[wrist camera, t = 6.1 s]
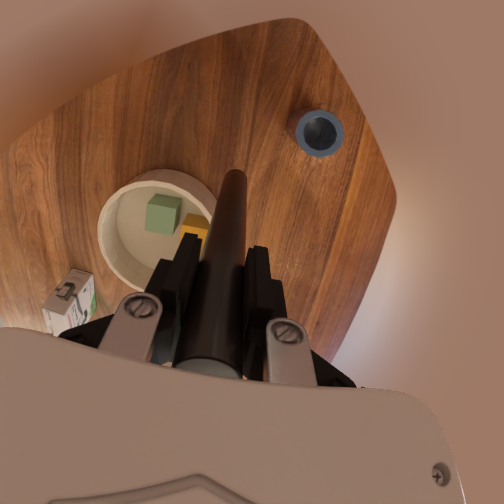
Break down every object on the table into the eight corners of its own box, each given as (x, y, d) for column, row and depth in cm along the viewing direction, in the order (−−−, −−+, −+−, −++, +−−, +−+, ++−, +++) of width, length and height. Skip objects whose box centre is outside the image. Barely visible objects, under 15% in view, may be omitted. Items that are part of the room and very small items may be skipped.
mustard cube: (187, 212, 41) (181, 224, 37) (214, 218, 41) (211, 230, 38) (183, 237, 42) (177, 250, 39) (210, 242, 43) (206, 256, 39)
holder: (292, 103, 34) (303, 103, 27) (330, 114, 34) (349, 119, 27) (282, 139, 36) (290, 149, 29) (319, 150, 37) (335, 163, 30)
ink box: (97, 308, 51) (73, 351, 40) (76, 302, 50) (50, 343, 40) (93, 273, 46) (63, 316, 36) (71, 267, 46) (39, 307, 36)
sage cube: (155, 193, 39) (146, 203, 36) (182, 198, 40) (176, 208, 36) (153, 218, 41) (144, 230, 37) (178, 224, 41) (172, 236, 38)
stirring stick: (226, 166, 24) (171, 350, 7) (249, 171, 25) (249, 363, 7) (222, 188, 25) (169, 391, 8) (244, 192, 25) (235, 401, 8)
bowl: (117, 160, 37) (98, 171, 32) (235, 181, 39) (232, 195, 34) (113, 262, 45) (99, 282, 40) (213, 283, 47) (208, 307, 42)
